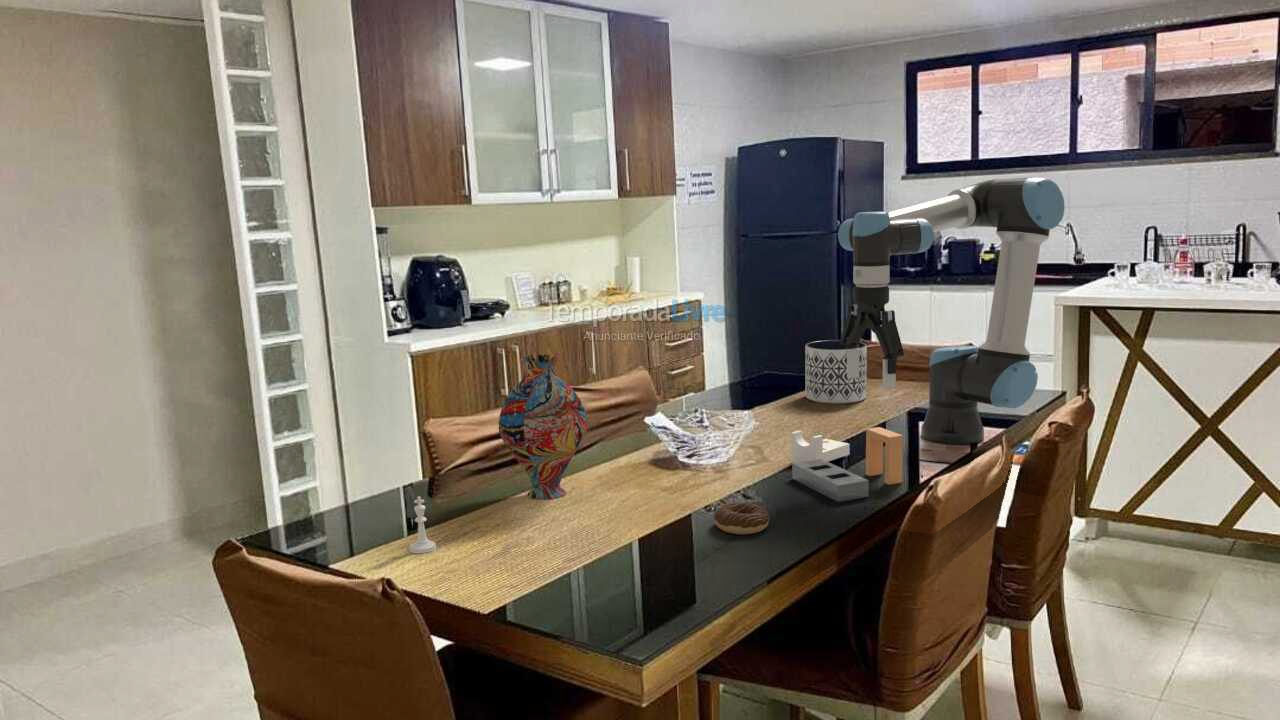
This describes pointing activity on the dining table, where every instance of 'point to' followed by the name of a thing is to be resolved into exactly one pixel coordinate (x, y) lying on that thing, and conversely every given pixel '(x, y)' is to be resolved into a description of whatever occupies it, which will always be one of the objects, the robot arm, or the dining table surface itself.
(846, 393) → the planter
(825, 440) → the bracket
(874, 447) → the clip
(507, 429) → the vase
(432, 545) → the chess piece
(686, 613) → the dining table surface
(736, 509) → the donut
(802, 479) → the grey slotted block
